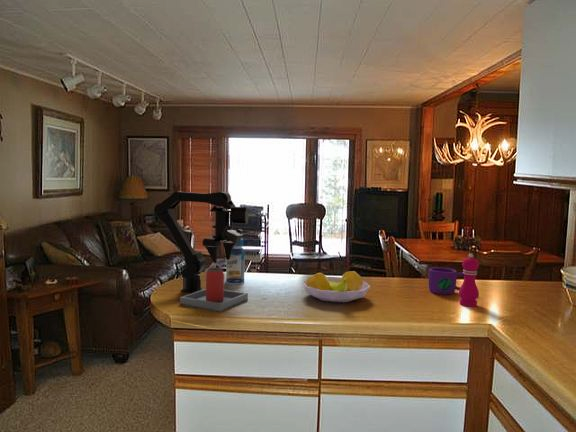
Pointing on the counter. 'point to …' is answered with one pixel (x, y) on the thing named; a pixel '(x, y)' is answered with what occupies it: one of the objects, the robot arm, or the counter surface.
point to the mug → (443, 280)
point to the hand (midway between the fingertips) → (221, 261)
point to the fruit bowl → (336, 287)
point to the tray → (200, 301)
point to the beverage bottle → (236, 265)
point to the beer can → (214, 285)
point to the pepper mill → (469, 282)
